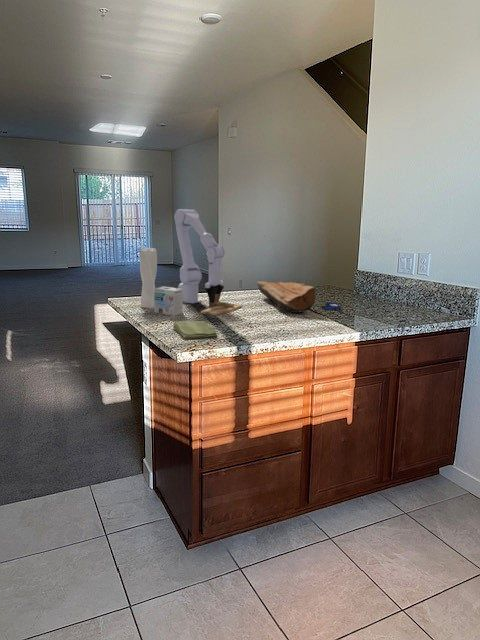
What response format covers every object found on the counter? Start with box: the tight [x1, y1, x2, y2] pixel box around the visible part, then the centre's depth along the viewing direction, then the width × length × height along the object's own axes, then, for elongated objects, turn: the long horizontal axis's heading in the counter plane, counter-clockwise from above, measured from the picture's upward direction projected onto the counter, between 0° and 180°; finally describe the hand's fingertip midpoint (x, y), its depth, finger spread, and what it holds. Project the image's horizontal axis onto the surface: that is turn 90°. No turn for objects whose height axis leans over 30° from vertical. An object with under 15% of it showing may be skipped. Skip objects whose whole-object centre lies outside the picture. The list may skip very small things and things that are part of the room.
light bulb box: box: [153, 286, 184, 317], centre depth 200 cm, size 11×7×11 cm, turn 62°
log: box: [256, 280, 317, 313], centre depth 226 cm, size 42×18×15 cm, turn 12°
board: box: [200, 303, 243, 317], centre depth 211 cm, size 9×23×1 cm, turn 155°
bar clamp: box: [321, 301, 353, 319], centre depth 216 cm, size 32×2×10 cm
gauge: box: [208, 294, 235, 308], centre depth 216 cm, size 12×4×7 cm, turn 65°
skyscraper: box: [139, 244, 158, 309], centre depth 210 cm, size 8×8×28 cm
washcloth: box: [172, 321, 218, 340], centre depth 170 cm, size 13×18×3 cm
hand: (214, 301), depth 218 cm, fingers closed on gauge, 4 cm apart
